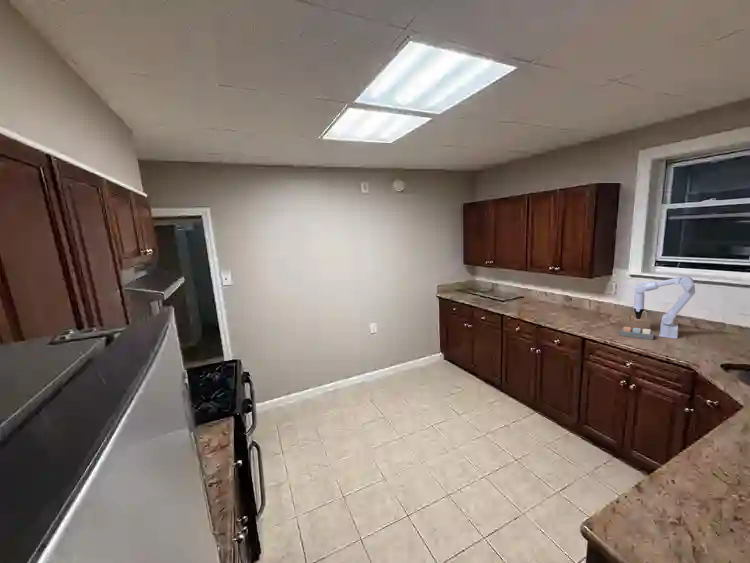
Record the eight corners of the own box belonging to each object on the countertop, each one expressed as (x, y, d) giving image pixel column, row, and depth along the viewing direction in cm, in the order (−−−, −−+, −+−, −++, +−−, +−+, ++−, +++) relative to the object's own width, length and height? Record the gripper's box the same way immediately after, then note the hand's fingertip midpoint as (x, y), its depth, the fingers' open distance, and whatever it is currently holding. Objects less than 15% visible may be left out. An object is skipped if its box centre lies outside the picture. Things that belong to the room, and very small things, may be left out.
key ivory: (650, 334, 232) (650, 329, 232) (650, 336, 229) (650, 331, 229) (642, 333, 235) (643, 328, 234) (642, 335, 232) (642, 330, 231)
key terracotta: (631, 332, 240) (631, 327, 239) (630, 333, 237) (630, 328, 236) (623, 331, 243) (624, 326, 242) (623, 332, 240) (623, 328, 239)
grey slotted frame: (653, 336, 233) (654, 331, 232) (652, 340, 227) (653, 335, 226) (621, 332, 246) (621, 328, 245) (619, 335, 239) (619, 331, 239)
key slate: (640, 333, 236) (640, 328, 235) (640, 334, 233) (640, 329, 232) (633, 332, 239) (633, 327, 238) (632, 334, 236) (632, 329, 235)
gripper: (633, 298, 248) (632, 315, 250) (631, 302, 237) (630, 320, 239) (645, 299, 243) (644, 316, 245) (643, 303, 232) (642, 321, 234)
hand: (638, 318), depth 242 cm, fingers closed
